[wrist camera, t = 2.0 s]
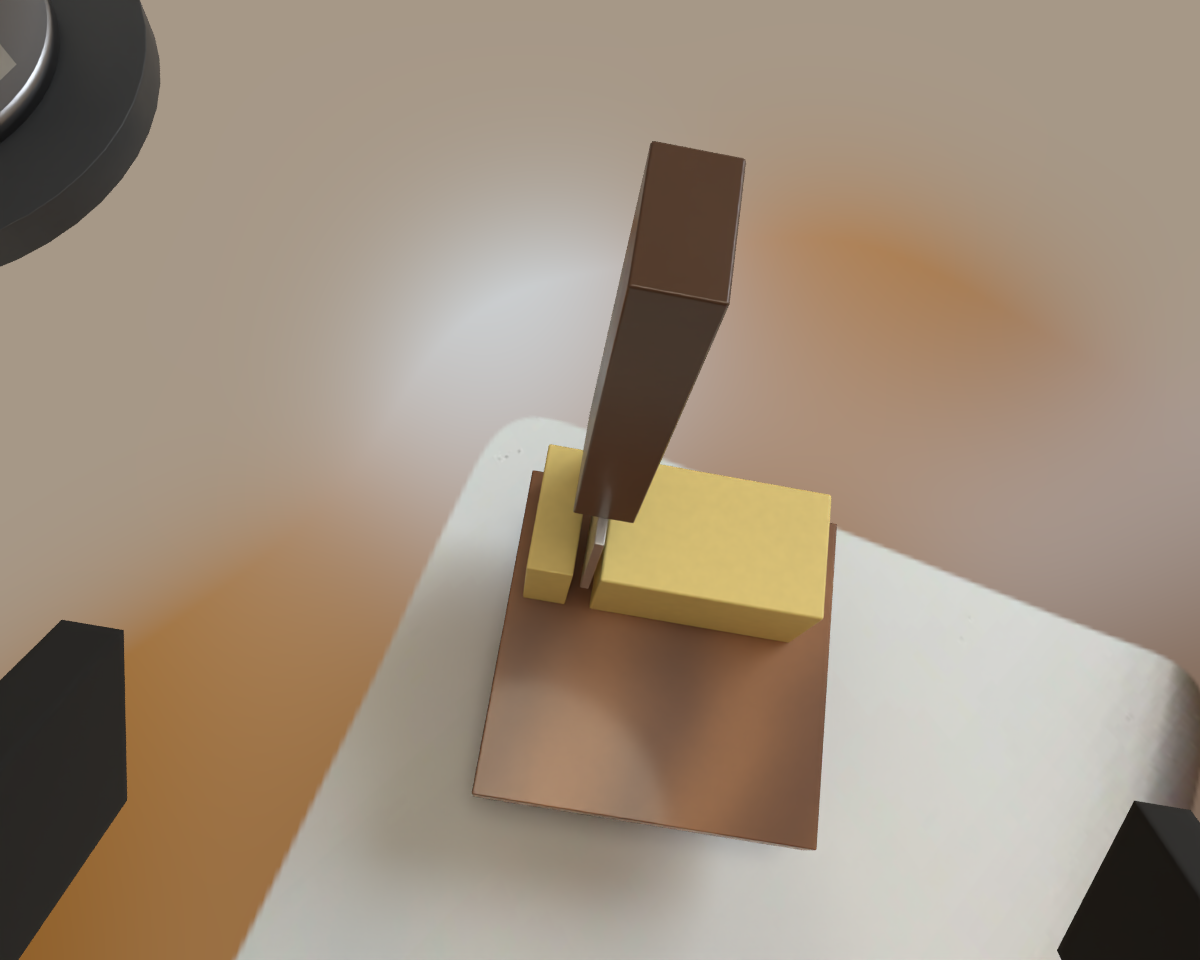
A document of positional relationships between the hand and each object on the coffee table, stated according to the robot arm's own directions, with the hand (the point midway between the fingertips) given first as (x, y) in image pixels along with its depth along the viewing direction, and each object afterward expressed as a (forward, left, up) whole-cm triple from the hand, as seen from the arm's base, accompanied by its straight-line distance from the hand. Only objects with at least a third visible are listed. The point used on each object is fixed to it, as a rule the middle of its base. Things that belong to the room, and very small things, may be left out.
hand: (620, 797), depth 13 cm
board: (+3, +7, -23) cm, 24 cm away
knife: (0, +10, -18) cm, 21 cm away
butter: (+3, +10, -22) cm, 24 cm away
